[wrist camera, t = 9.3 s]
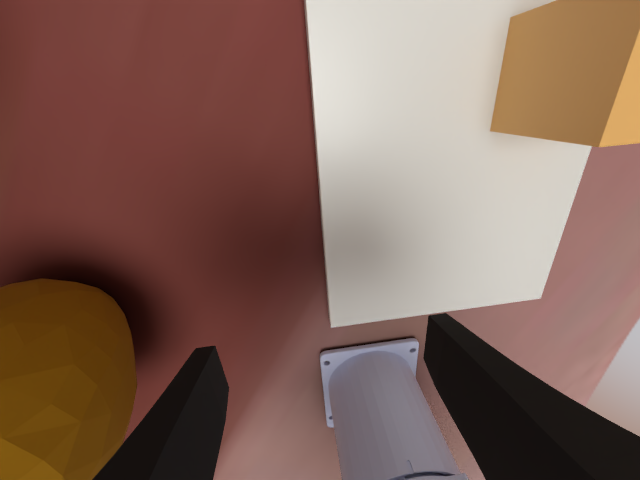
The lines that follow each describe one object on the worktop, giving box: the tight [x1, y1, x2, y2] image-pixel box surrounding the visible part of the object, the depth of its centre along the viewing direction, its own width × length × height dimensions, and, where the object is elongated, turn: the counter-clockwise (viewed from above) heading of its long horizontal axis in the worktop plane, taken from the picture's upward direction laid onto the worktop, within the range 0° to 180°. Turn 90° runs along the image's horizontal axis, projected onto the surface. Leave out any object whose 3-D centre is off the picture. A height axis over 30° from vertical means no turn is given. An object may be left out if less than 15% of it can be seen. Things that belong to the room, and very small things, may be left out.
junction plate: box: [304, 0, 592, 328], centre depth 15 cm, size 20×16×4 cm
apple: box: [0, 278, 137, 480], centre depth 13 cm, size 11×11×13 cm
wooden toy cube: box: [490, 0, 640, 147], centre depth 12 cm, size 5×5×6 cm
